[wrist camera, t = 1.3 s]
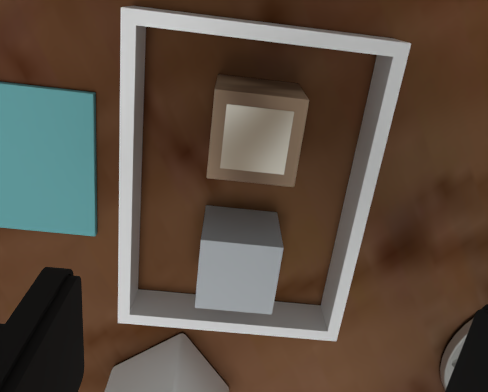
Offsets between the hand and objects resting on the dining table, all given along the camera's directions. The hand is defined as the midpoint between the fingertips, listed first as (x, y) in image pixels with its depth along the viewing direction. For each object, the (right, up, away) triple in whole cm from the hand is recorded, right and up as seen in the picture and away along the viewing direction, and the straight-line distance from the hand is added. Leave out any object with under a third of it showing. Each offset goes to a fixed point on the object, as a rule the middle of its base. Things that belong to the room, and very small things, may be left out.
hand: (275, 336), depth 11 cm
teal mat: (-16, +6, +20) cm, 26 cm away
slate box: (-1, 0, +22) cm, 22 cm away
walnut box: (0, +8, +19) cm, 21 cm away
